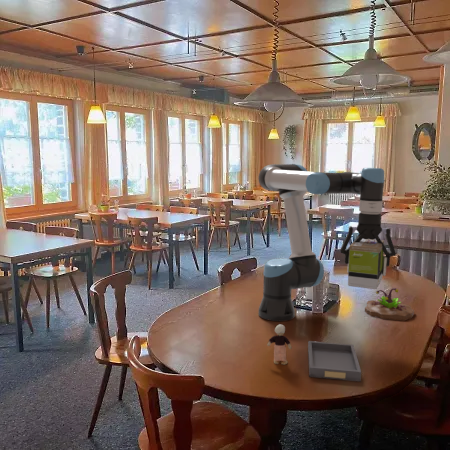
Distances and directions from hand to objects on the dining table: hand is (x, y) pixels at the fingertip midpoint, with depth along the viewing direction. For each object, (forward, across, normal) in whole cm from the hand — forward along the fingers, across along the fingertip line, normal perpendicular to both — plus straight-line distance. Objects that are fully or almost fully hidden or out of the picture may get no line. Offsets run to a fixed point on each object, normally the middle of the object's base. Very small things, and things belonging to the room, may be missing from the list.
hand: (366, 273), depth 158 cm
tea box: (+3, 0, 0) cm, 3 cm away
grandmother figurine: (+25, -29, -23) cm, 45 cm away
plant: (+26, +16, +35) cm, 46 cm away
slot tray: (+25, -12, -21) cm, 35 cm away
